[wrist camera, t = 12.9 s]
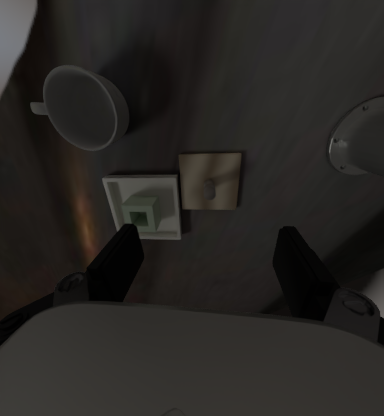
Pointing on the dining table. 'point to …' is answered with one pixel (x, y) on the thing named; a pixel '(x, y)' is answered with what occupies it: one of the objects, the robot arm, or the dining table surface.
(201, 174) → the wooden peg base
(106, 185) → the tray
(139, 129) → the dining table surface
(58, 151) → the dining table surface
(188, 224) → the dining table surface
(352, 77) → the dining table surface
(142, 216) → the green hollow square block
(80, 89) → the teacup
